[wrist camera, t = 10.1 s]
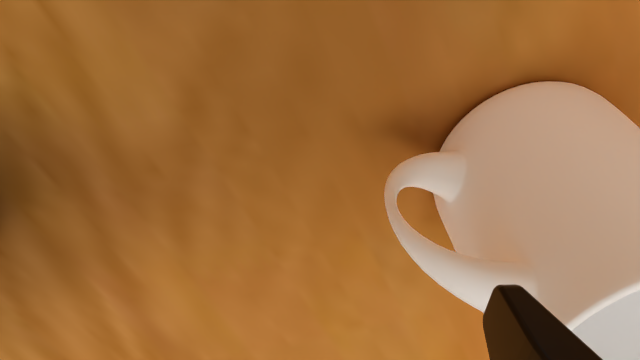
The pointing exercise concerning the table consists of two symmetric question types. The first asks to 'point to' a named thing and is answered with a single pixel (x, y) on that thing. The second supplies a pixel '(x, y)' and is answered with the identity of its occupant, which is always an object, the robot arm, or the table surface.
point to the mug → (538, 209)
